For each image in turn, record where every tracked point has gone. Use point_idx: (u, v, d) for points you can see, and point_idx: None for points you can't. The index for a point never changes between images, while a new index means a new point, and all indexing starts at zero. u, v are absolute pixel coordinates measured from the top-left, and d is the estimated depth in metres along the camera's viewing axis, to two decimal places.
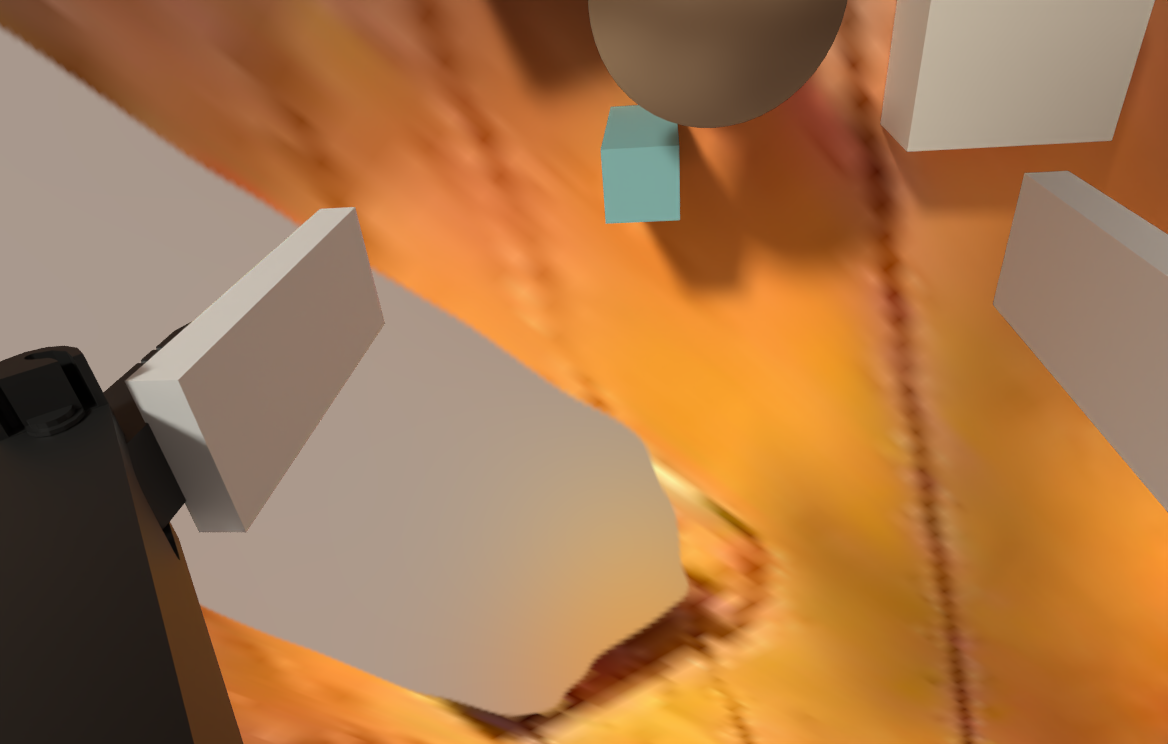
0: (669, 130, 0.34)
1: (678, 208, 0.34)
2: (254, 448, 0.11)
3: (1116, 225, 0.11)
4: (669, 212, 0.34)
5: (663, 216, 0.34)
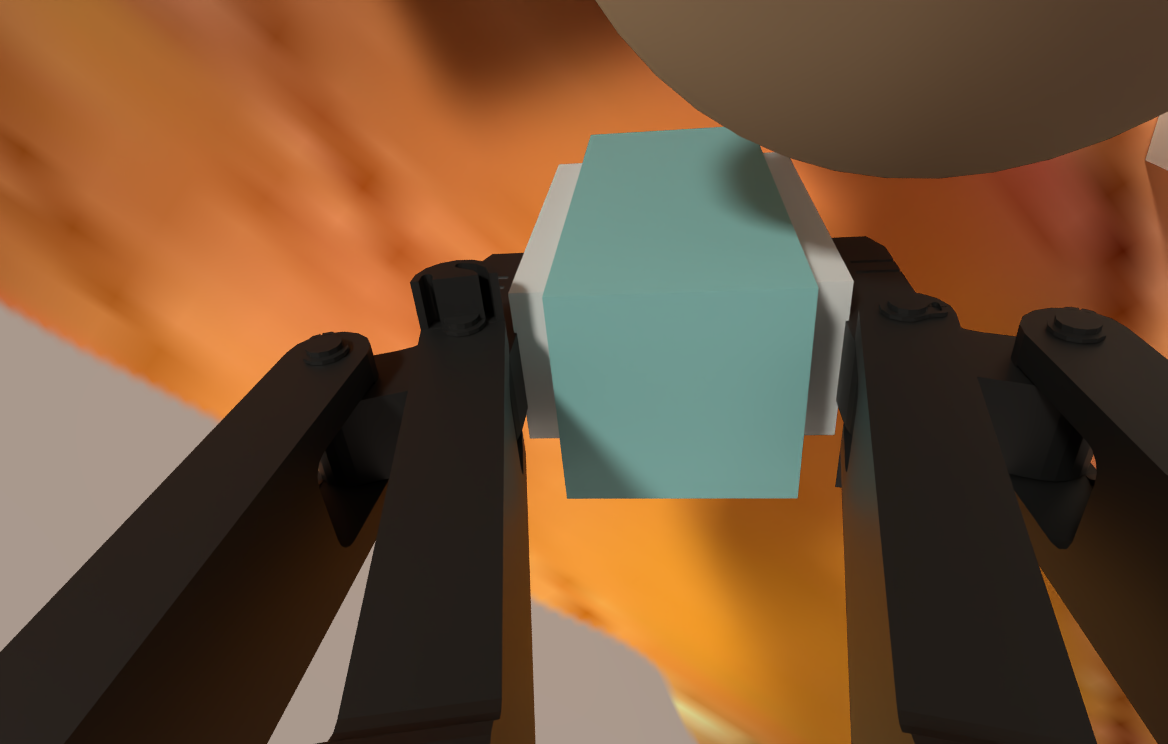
0: (761, 216, 0.11)
1: (796, 469, 0.11)
2: None
3: (780, 193, 0.14)
4: (765, 477, 0.11)
5: (745, 487, 0.11)
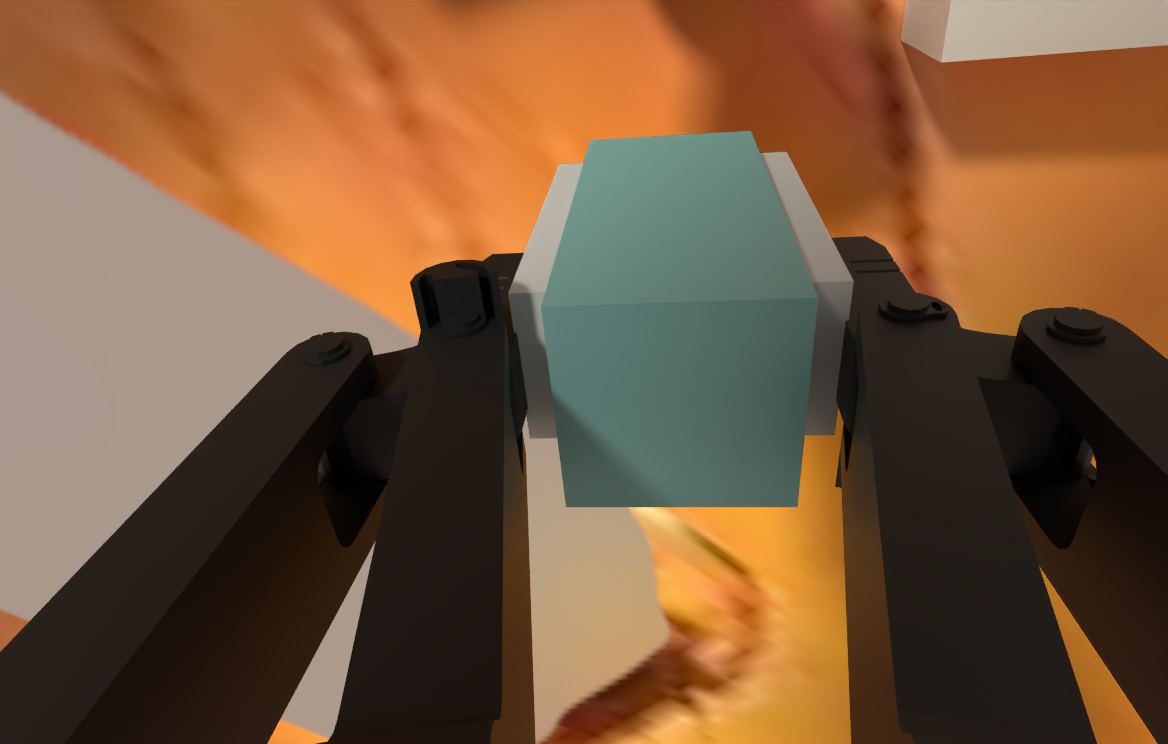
0: (761, 224, 0.11)
1: (795, 477, 0.11)
2: None
3: (780, 193, 0.14)
4: (765, 486, 0.11)
5: (745, 495, 0.11)
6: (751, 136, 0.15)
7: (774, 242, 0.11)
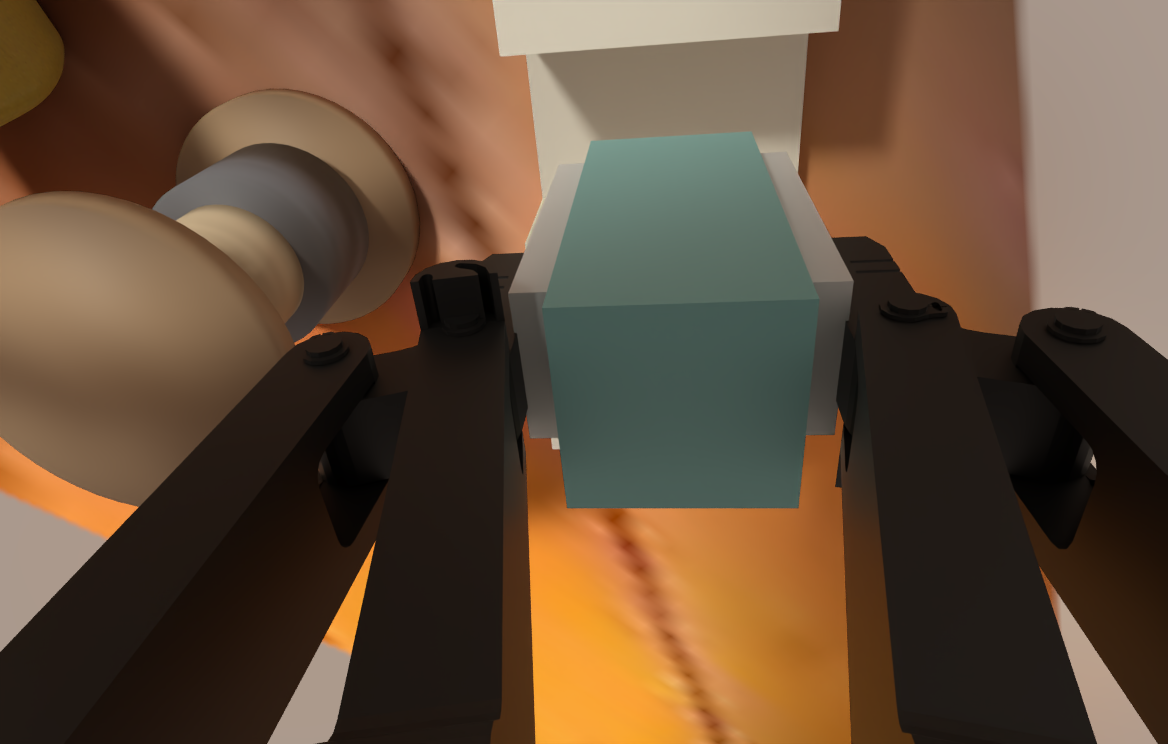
0: (762, 225, 0.11)
1: (796, 479, 0.11)
2: None
3: (780, 193, 0.14)
4: (766, 487, 0.11)
5: (746, 497, 0.11)
6: (752, 137, 0.15)
7: (775, 243, 0.11)
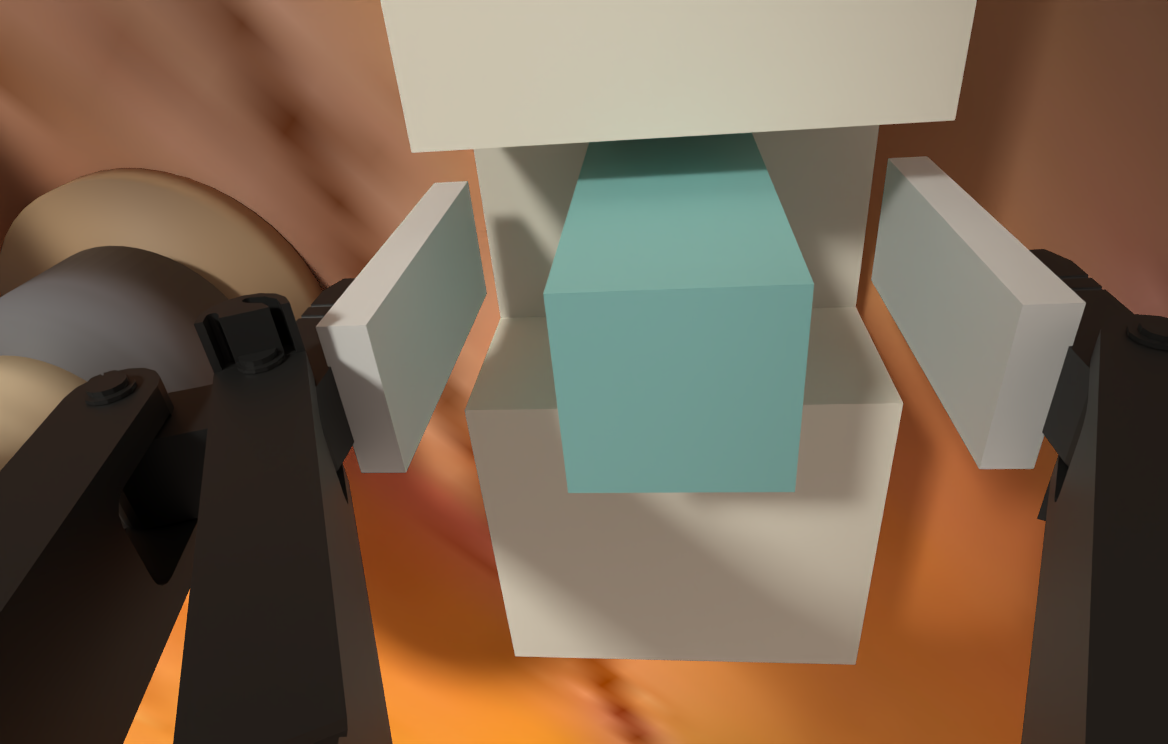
0: (759, 215, 0.11)
1: (793, 463, 0.11)
2: (410, 396, 0.12)
3: (945, 202, 0.12)
4: (763, 471, 0.11)
5: (744, 481, 0.11)
6: None
7: (771, 232, 0.11)
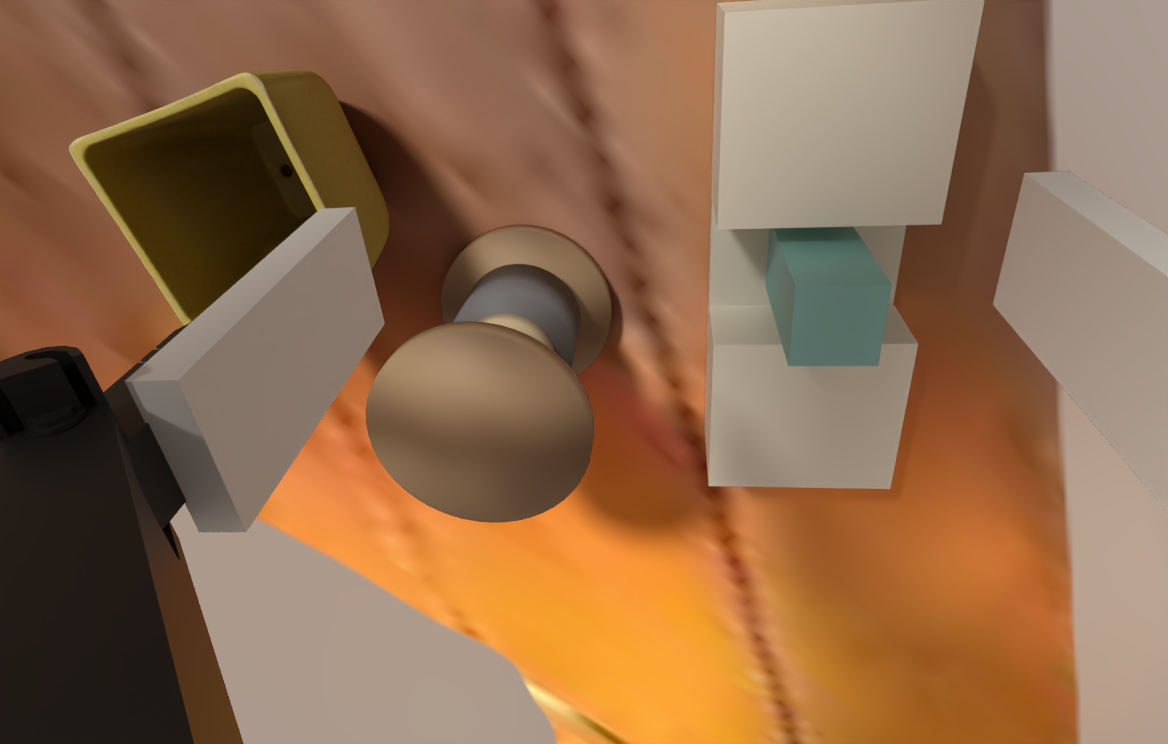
0: (864, 259, 0.29)
1: (879, 353, 0.29)
2: (254, 448, 0.11)
3: (1116, 225, 0.11)
4: (867, 357, 0.29)
5: (859, 361, 0.29)
6: None
7: (871, 266, 0.29)
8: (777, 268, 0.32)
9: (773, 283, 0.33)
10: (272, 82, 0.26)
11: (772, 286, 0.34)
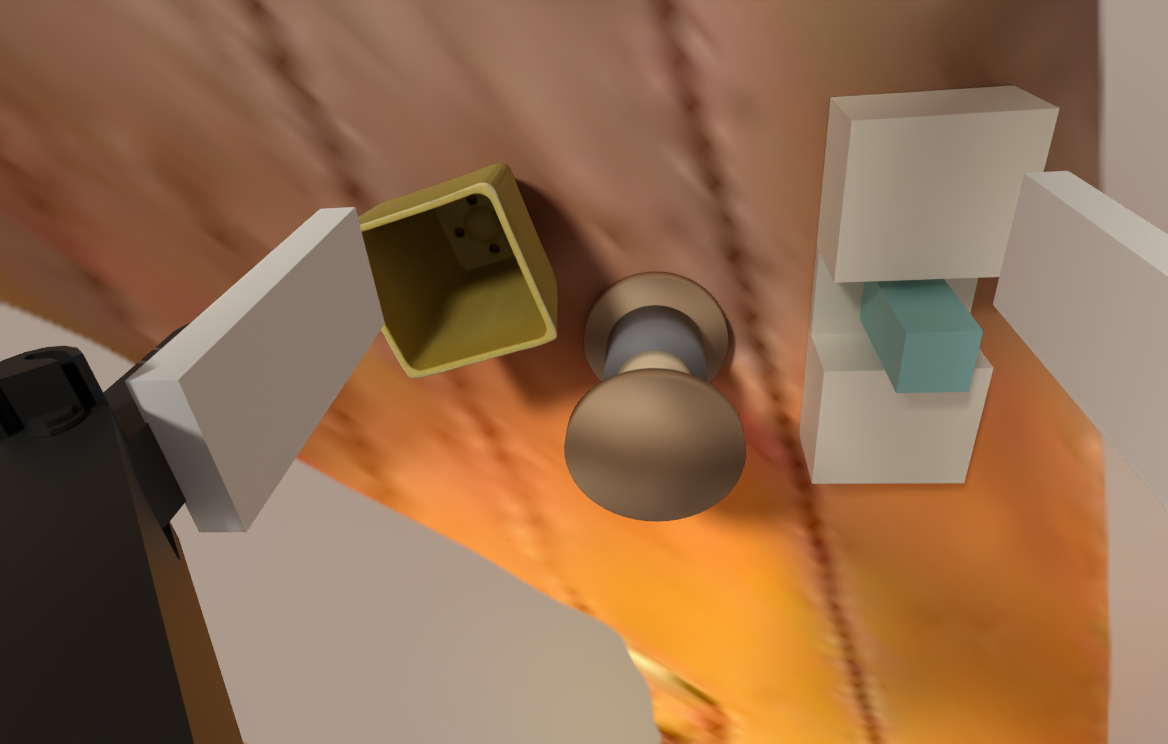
0: (956, 306, 0.37)
1: (970, 382, 0.36)
2: (254, 448, 0.11)
3: (1116, 225, 0.11)
4: (960, 385, 0.36)
5: (953, 388, 0.36)
6: None
7: (963, 313, 0.36)
8: (878, 310, 0.40)
9: (872, 320, 0.41)
10: (497, 186, 0.34)
11: (871, 322, 0.41)
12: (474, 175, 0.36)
